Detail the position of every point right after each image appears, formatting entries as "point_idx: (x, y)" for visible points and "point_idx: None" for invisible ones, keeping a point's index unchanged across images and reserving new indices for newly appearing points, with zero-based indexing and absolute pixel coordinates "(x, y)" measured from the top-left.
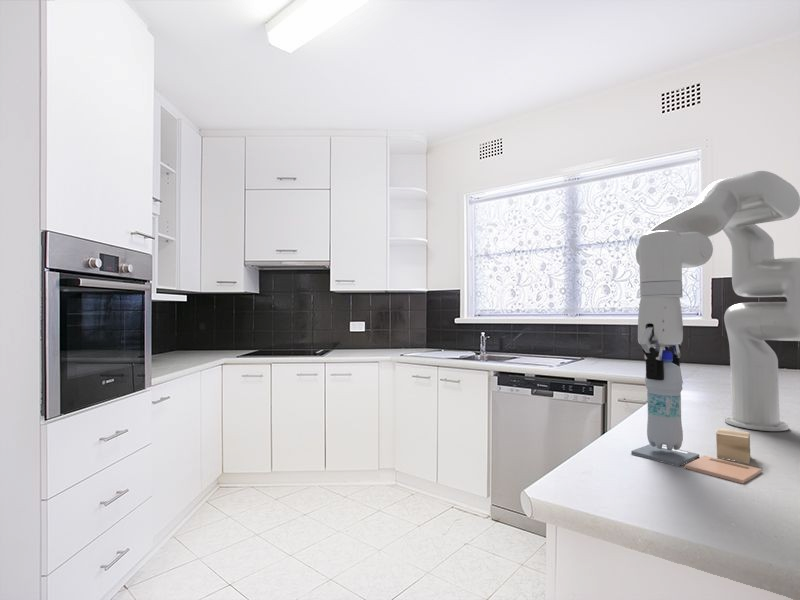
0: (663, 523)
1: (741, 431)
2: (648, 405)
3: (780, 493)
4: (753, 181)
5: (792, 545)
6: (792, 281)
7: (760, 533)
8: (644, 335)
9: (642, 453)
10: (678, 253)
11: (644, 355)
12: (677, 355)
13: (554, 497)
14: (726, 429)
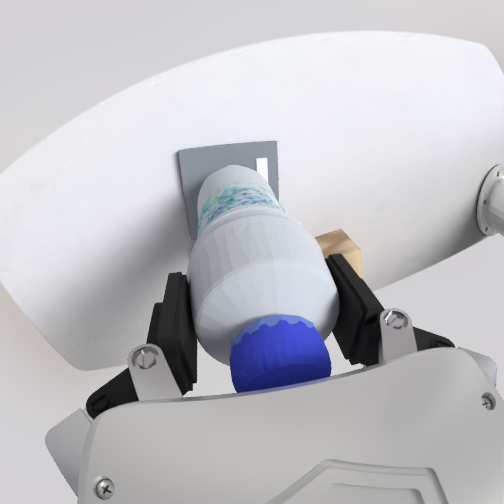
0: (38, 313)
1: (362, 278)
2: (207, 207)
3: None
4: None
5: (106, 367)
6: None
7: (100, 354)
8: (72, 485)
9: (183, 173)
10: None
11: (128, 363)
12: (363, 367)
13: None
14: (360, 259)
